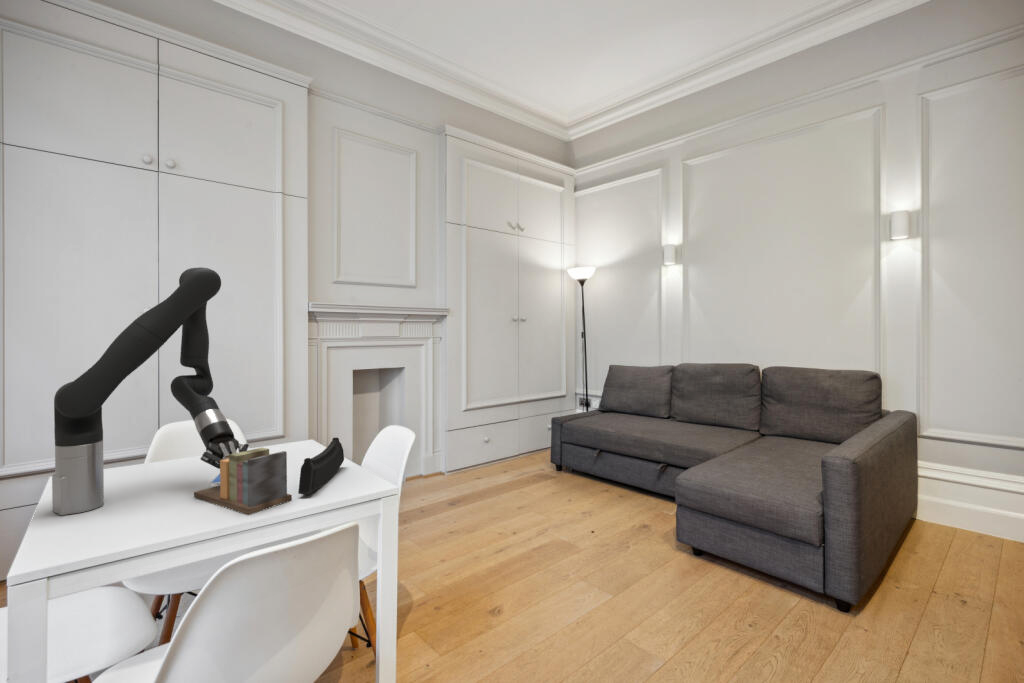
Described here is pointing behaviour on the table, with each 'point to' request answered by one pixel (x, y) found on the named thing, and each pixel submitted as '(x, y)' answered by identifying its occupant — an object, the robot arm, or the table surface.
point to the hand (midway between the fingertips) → (238, 476)
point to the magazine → (321, 468)
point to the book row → (252, 482)
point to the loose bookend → (224, 479)
